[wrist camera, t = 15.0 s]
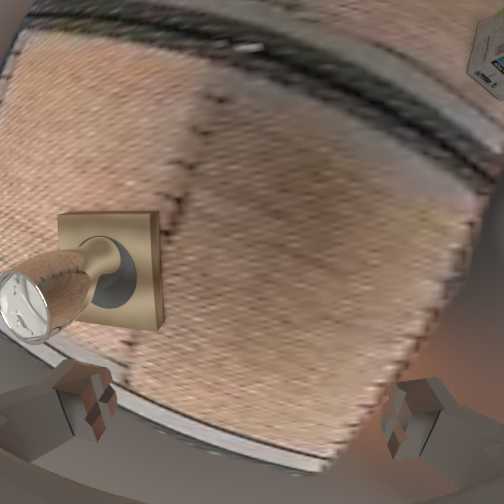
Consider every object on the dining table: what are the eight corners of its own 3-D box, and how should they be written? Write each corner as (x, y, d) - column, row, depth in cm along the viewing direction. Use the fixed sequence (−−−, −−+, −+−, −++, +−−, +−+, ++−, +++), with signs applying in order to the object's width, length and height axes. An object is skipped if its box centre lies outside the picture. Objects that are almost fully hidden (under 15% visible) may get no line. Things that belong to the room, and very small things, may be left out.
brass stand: (69, 212, 37) (55, 215, 34) (158, 210, 37) (148, 214, 34) (80, 311, 41) (69, 320, 37) (164, 321, 40) (156, 332, 37)
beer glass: (81, 286, 36) (3, 338, 22) (77, 231, 35) (-11, 263, 20) (129, 292, 36) (59, 355, 21) (127, 233, 34) (44, 271, 20)
